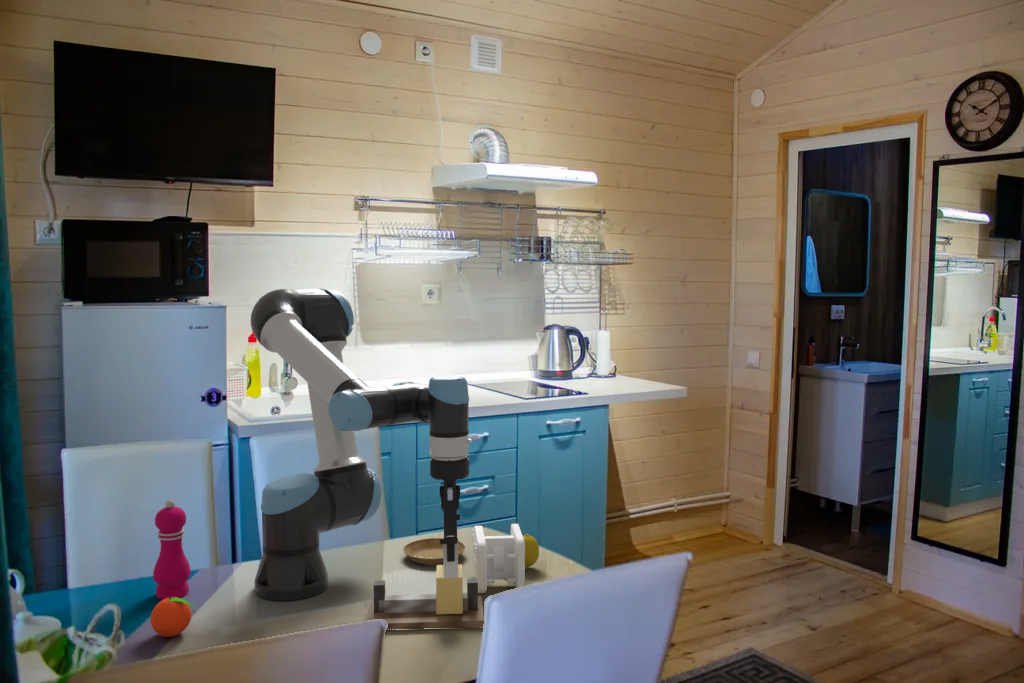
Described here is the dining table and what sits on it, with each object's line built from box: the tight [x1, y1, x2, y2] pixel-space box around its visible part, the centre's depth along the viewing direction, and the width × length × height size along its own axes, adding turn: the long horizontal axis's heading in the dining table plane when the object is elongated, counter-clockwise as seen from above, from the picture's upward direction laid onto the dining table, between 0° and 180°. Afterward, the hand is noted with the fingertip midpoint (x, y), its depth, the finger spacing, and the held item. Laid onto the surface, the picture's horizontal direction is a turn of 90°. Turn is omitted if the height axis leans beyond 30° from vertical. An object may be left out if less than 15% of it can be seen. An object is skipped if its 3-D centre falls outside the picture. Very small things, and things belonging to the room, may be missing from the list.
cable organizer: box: [471, 523, 526, 594], centre depth 172 cm, size 15×11×12 cm
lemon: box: [522, 533, 540, 569], centre depth 182 cm, size 6×6×8 cm
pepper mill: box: [152, 499, 192, 600], centre depth 165 cm, size 7×7×20 cm
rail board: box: [366, 577, 485, 630], centre depth 155 cm, size 22×12×7 cm, turn 95°
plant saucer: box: [402, 537, 466, 566], centre depth 189 cm, size 15×15×3 cm
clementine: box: [150, 597, 196, 638], centre depth 146 cm, size 8×7×7 cm
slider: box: [435, 564, 464, 614], centre depth 155 cm, size 5×7×7 cm
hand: (450, 565), depth 155 cm, fingers open, 13 cm apart
